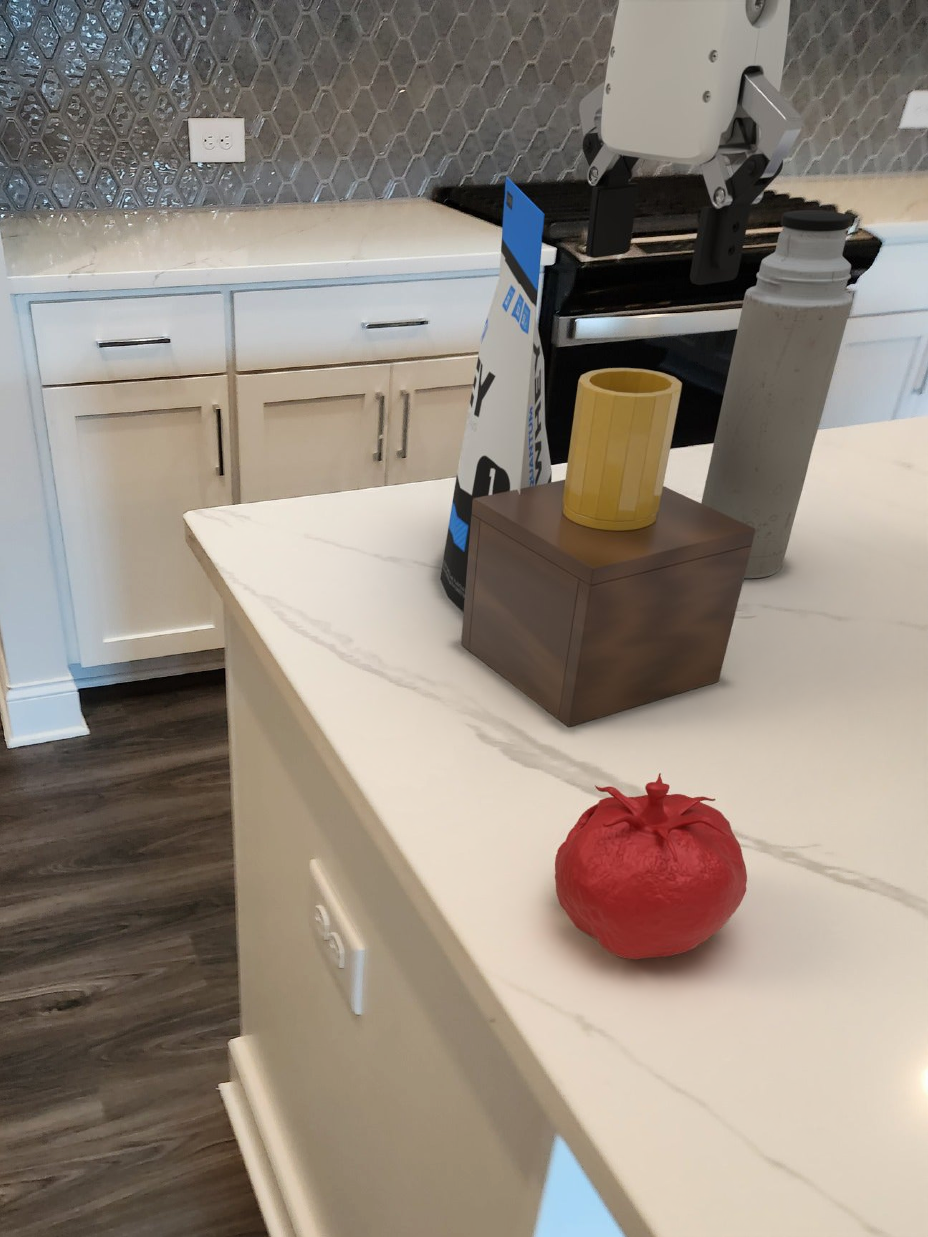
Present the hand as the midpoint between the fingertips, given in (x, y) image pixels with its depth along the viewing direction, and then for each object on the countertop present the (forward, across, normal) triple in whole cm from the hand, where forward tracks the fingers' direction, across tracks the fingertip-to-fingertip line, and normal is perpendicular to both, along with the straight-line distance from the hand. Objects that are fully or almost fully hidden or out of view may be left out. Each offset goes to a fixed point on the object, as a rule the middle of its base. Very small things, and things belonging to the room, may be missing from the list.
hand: (657, 267), depth 69 cm
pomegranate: (+28, -25, +17) cm, 41 cm away
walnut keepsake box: (+28, 0, +1) cm, 28 cm away
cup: (+16, 0, +1) cm, 16 cm away
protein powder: (+28, +16, -2) cm, 33 cm away
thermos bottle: (+28, +9, -23) cm, 38 cm away
